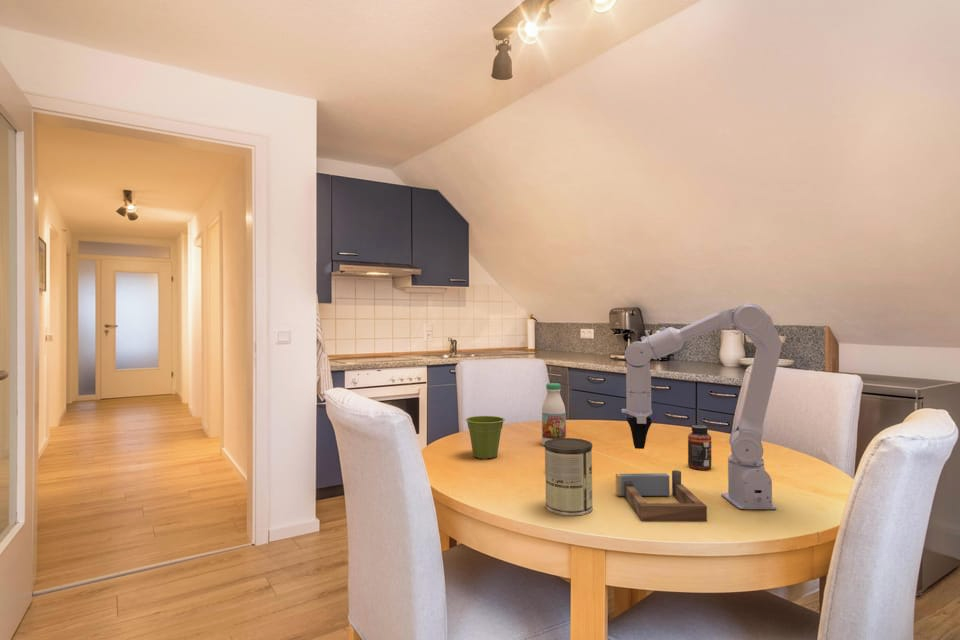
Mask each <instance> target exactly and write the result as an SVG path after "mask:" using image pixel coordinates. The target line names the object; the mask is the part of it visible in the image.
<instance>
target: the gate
mask: <svg viewBox="0 0 960 640" xmlns="http://www.w3.org/2000/svg"><path fill="white" fill-rule="evenodd" d="M624 482H632V483H633V487H634V488H635V489H636V490H637V491H638V493H639V494H640V495H641V496H642V497H643V496H648V497H649V496H650V497H651V496H657V497H659V496H667V497H668V496H670V494H671V493H670V492H671V491H670V475H669V474H668V473H667V472H666V473H661V472H660V473H659V472H658V473H657V472H656V473H654V472H653V473H615V494H616V495H617V496H619V497H621V496H622V497H625V495H624Z"/></svg>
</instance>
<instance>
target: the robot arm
mask: <svg viewBox="0 0 960 640" xmlns="http://www.w3.org/2000/svg"><path fill="white" fill-rule="evenodd" d="M733 326H735V328H737V329H738V330H739V331H740V332H742V333H743V334H744V335H746V336H747V337H748V339H749V341H751V342H752V344H753V345H754V347H755V348H756V349H755V353H754V358H753V362H752V366H751V371H750V375H749V378H748V379H749V380H748V382H747V383H748V384H747V386H746V387H747V388H746V392H745V396H744V400H743V404H742V409H741V413H740V416H739V419H738V420H737V421H738V422H737V425H736V427H735V429H734V430H733V431H732V432H731V433H730V436H729V440H728V441H729V442H728V443H729V445H730V451H731V454H730V455H729V456H728V457H727V481H728V482H727V484H728V485H727V486H728V487H727V490H728V492H721V493H720V495H721V496H722V497H723V498H725V499H726V500H727V501H728V502H730V503H731V504H732V505H733V506H735V508H737V509H739V510H777V506H775V505H774V504H773V483H772V478H771V476H770V474H769V473H768V472H767V470H766V469H765V460H764V458H763V455H764V447H763V444H762V443H763V442H762V440H763V439H762V437H763V433H764V422H765V417H766V413H767V409H768V405H769V401H770V396H771V392H772V389H773V384H774V380H775V376H776V373H777V367H778V365H779V360H780V356H781V353H782V352H781V351H782V347H783V343H782V340H781V337H780V336H779V333H778V330H777V329H776V327H775V324H774V322H773V319H772V316H771V315H770V314H769V313H768V312H767V311H765V309H763V307H762V306H760V305H758V304H756V303H745V304H741V305H739V306H738V307H731V308H727V309H724V310H720V311H716V312H714V313H712V314H710V315H707V316H705V317H704V318H701V319H699V320H696V321H695V322H693V323H690V324H688V325H685V326H684V327H682V328H681V327H680V329H679V328H675V327H673V326H670V327H669V326H668V327H667V328H666V327H665V326H663V327H660V328H659V331H657V332H655V333H653V334H651V335H649V336H645V335H643V336H641V337H640V340H641V341H639V340H638V341H633V342H632V343H630V344H629V345H627V347H626V348H625V351H624V358H625V360H626V374H625V380H626V381H625V383H626V384H625V385H626V396H625V397H626V408H622V409H621V413H622V414H627V415H629V416H631V417H626V418H625V419H626V421H627V424H628V426H629V428H630V432H631V437H632V442H633V446H634V449H635V450H636V449H638V450H644V449H645V446H646V442H647V436H648V433H649V430H650V427H651V426H652V423H653V420H652V418H651V417H650V416H651V415H653V410H652V373H651V360H652V359H653V360H658V359H660V358H663V357H665V356H668V355H670V354H672V353H673V354H674V353H675V352H677V351H680V350H682V349H683V345H684V343H685V342H686V341H689V340H691V339H694V338H696V337H699V336H702V335H705V334H707V333H710V332H712V331H715V330H718V329H728V330H729V329H730V330H732V329H734V328H733Z"/></svg>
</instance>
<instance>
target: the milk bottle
mask: <svg viewBox="0 0 960 640" xmlns="http://www.w3.org/2000/svg"><path fill="white" fill-rule="evenodd" d="M545 386H546V396H545V398H544V401H543V404H542V407H541V444H542V446H544V445H545V444H544V443H545V442H546V441H548V440H551V439H557V438H567V427H566V425H567V419H566V418H567V417H566V415H567V413H566V406H565V404H564V401H563V399H562V396H561V387H562V386H561V383H558V382H549V383H546V385H545Z"/></svg>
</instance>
